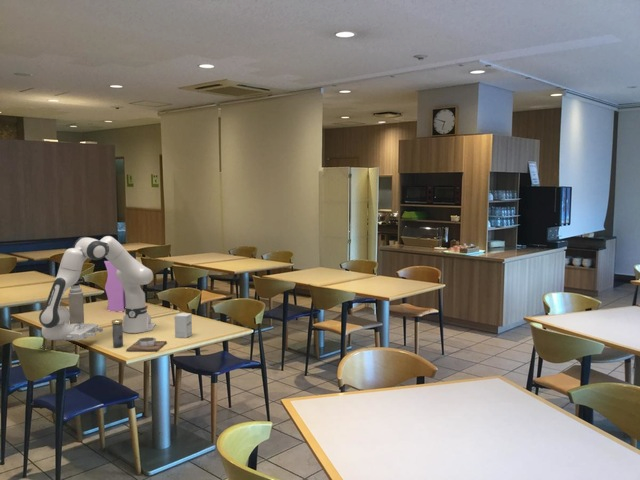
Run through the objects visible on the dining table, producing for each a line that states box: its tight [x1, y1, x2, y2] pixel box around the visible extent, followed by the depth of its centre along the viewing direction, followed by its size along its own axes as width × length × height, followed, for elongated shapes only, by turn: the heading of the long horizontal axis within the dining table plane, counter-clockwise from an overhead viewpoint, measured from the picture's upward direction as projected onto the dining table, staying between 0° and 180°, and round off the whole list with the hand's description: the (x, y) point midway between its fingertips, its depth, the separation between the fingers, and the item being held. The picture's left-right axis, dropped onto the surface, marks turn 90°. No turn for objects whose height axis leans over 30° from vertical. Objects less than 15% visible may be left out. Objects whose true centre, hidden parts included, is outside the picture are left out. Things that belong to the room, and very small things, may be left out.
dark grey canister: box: [111, 318, 124, 349], centre depth 291 cm, size 6×6×14 cm
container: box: [103, 260, 126, 313], centre depth 382 cm, size 14×14×35 cm
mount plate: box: [125, 340, 168, 353], centre depth 290 cm, size 16×16×1 cm
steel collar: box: [136, 336, 157, 347], centre depth 290 cm, size 9×9×3 cm
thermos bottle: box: [67, 282, 85, 324], centre depth 328 cm, size 8×8×28 cm
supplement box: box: [174, 312, 193, 339], centre depth 312 cm, size 7×7×13 cm
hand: (98, 332), depth 292 cm, fingers open, 8 cm apart
